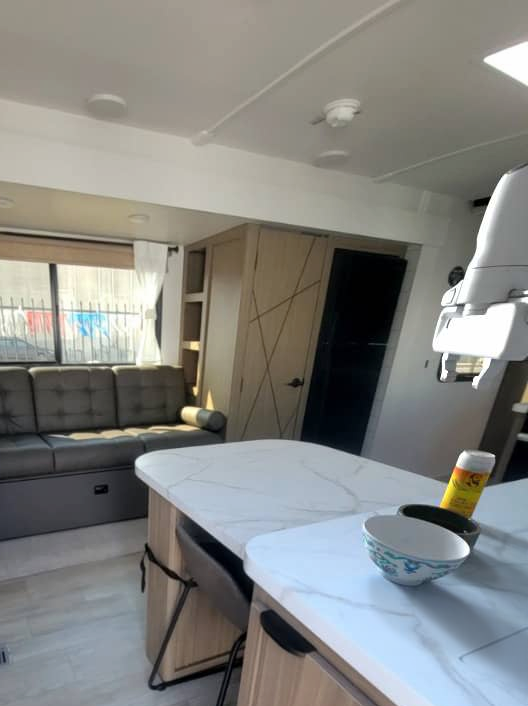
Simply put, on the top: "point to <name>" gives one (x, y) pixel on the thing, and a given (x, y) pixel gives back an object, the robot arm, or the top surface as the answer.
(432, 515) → the dark green bowl
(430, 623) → the top surface
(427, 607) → the top surface
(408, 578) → the chinaware
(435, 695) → the top surface
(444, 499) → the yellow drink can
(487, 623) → the top surface
